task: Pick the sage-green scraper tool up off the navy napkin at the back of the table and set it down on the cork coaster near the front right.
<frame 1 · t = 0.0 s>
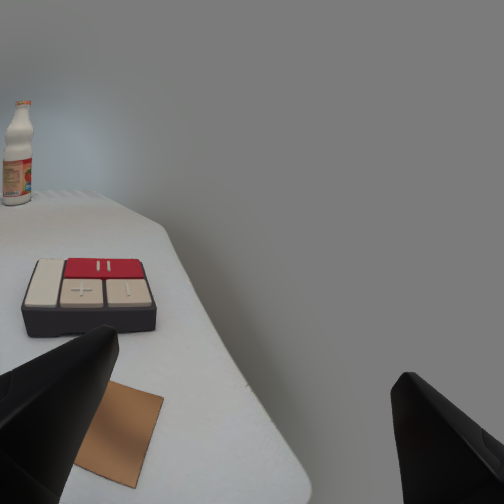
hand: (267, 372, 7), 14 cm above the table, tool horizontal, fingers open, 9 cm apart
coaster: (96, 422, 16), on the table
fruit juice: (17, 202, 54), on the table
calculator: (89, 307, 28), on the table
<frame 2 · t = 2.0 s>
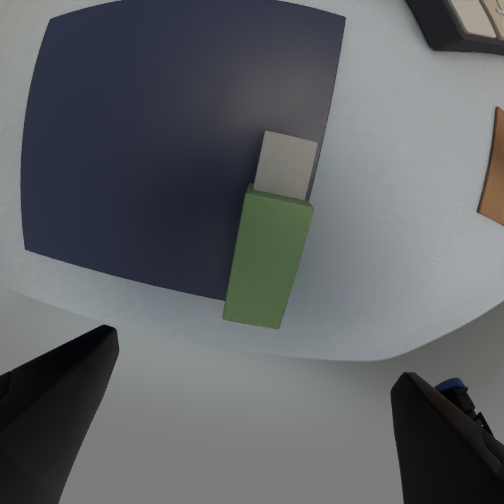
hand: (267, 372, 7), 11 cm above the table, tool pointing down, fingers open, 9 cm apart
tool: (269, 220, 16), resting on napkin
napkin: (137, 132, 15), on the table
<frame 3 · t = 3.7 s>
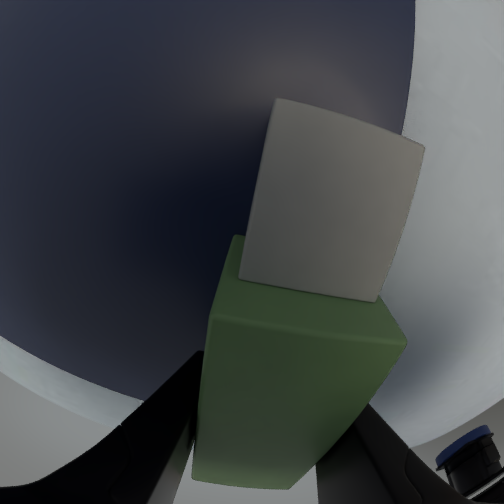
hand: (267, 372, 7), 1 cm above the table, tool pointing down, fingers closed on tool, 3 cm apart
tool: (278, 310, 8), resting on napkin, touching gripper
napkin: (29, 135, 6), on the table
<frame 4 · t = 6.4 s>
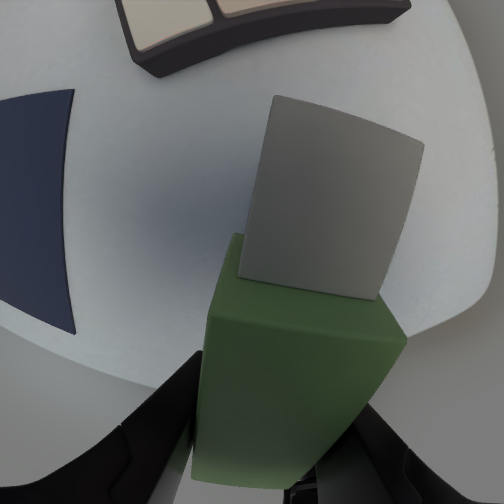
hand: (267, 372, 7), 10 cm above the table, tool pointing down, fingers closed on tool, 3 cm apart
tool: (277, 309, 8), point 9 cm above the table, touching gripper
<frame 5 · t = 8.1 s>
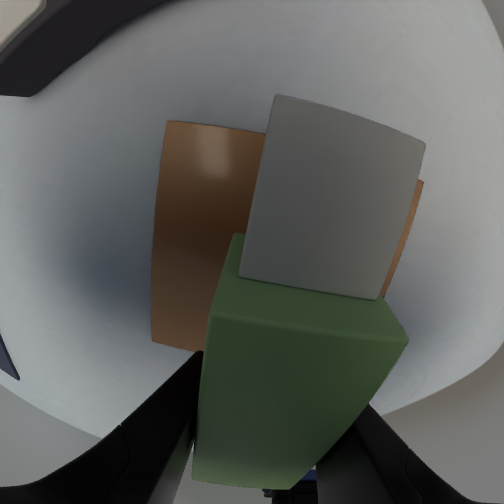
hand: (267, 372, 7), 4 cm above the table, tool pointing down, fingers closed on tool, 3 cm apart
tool: (278, 309, 8), point 3 cm above the table, touching gripper
coaster: (275, 269, 10), on the table
when the fingers open (1 cm above the table, at t = 9.1 s): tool stays where it is, resting on coaster.
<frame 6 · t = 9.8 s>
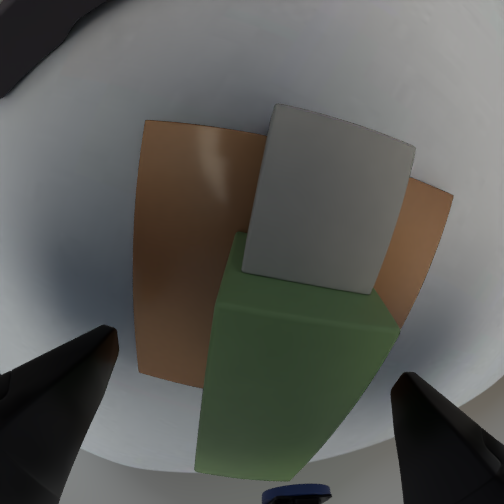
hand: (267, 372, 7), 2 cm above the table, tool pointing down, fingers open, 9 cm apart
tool: (278, 304, 8), resting on coaster
coaster: (278, 299, 8), on the table
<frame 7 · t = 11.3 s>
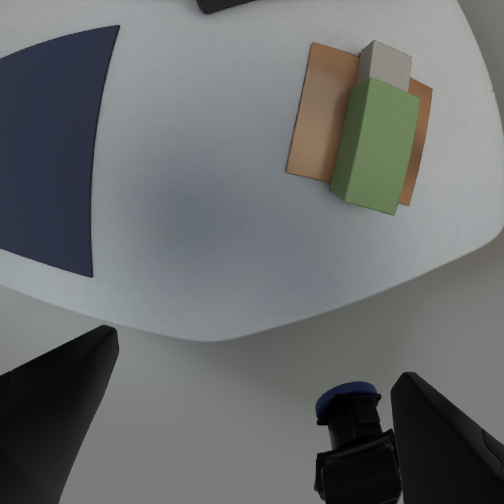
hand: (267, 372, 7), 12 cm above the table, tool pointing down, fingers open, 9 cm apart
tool: (368, 123, 15), resting on coaster
napkin: (8, 151, 16), on the table
coaster: (366, 123, 15), on the table
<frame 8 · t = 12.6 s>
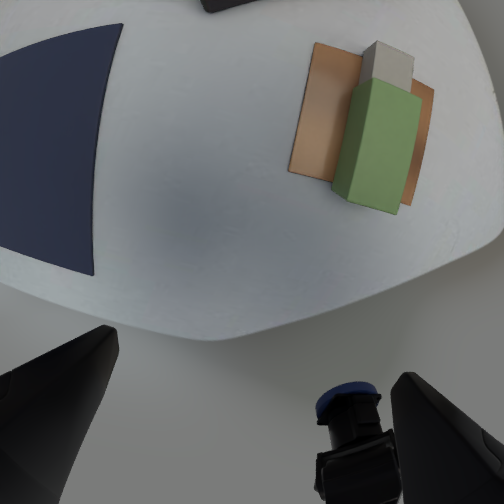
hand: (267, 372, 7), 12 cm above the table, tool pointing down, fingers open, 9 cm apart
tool: (370, 123, 15), resting on coaster
napkin: (10, 149, 16), on the table
coaster: (368, 123, 15), on the table
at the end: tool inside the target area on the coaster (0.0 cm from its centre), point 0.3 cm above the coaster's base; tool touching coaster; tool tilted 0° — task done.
